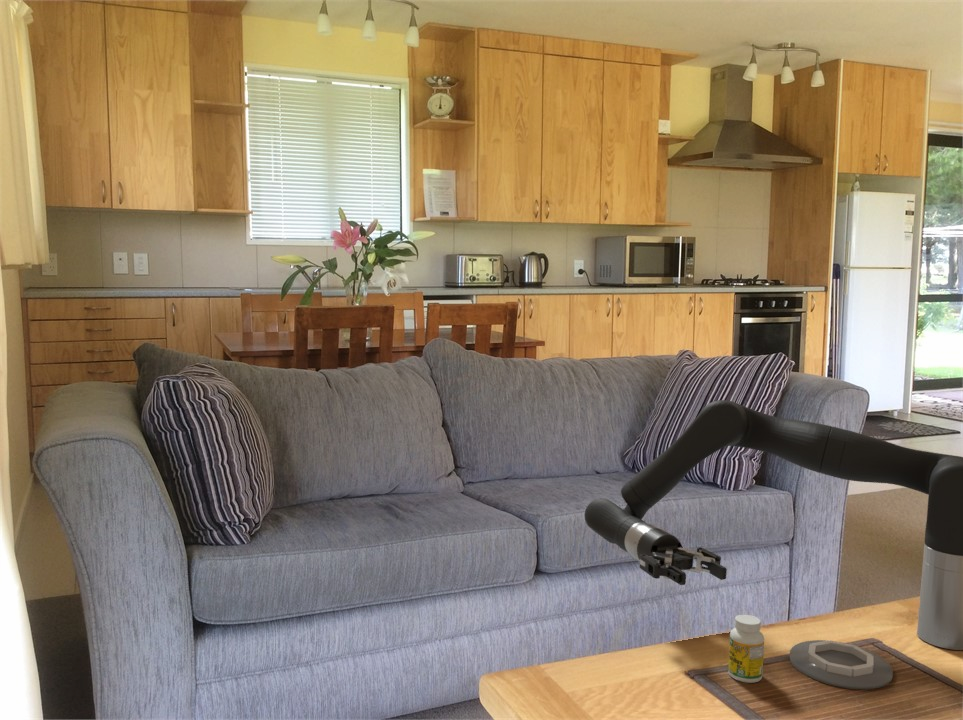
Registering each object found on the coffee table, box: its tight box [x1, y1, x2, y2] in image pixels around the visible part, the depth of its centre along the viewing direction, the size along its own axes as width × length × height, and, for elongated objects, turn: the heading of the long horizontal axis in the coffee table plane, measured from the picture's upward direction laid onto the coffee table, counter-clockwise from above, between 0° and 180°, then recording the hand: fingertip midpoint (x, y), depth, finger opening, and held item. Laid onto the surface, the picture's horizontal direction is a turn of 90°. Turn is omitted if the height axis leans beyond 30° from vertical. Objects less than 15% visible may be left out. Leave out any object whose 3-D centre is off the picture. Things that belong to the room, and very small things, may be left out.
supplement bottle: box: [727, 614, 765, 684], centre depth 138 cm, size 5×5×10 cm
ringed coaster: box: [789, 639, 894, 690], centre depth 142 cm, size 16×16×2 cm
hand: (704, 577), depth 147 cm, fingers open, 8 cm apart
